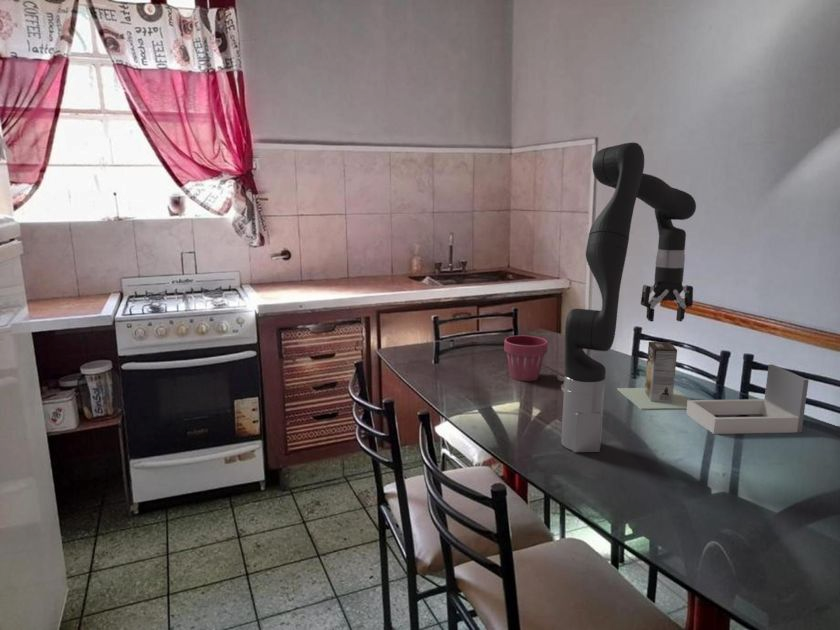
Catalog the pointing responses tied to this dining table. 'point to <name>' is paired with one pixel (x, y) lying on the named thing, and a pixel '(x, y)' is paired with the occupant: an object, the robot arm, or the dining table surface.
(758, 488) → the dining table surface
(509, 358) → the plant pot
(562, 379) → the pliers
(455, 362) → the dining table surface
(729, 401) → the case
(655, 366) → the coffee box
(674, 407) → the mat
